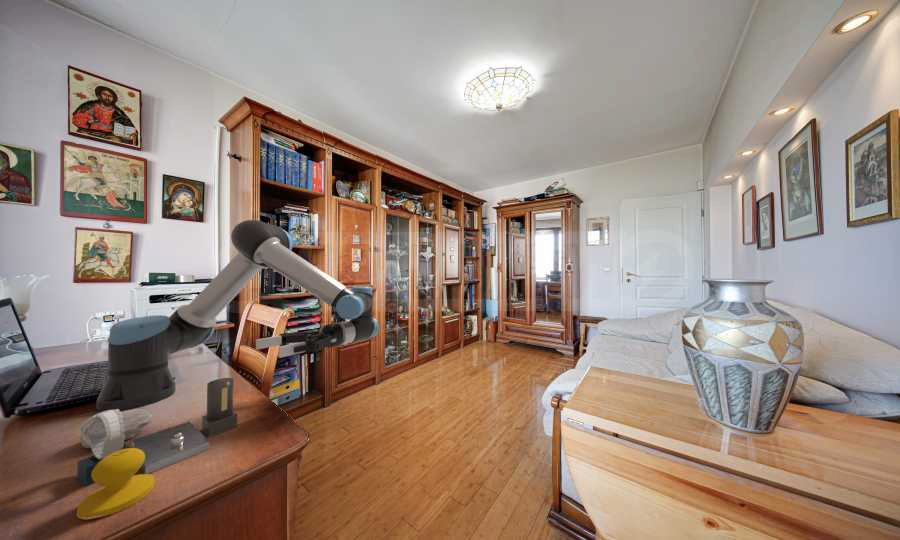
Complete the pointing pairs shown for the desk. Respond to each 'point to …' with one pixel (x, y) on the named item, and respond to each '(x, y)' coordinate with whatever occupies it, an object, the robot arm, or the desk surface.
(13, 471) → the desk surface
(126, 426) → the fossil
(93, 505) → the yellow stacked oval discs
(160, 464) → the hub plate
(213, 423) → the cylinder
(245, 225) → the robot arm
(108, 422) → the watch
